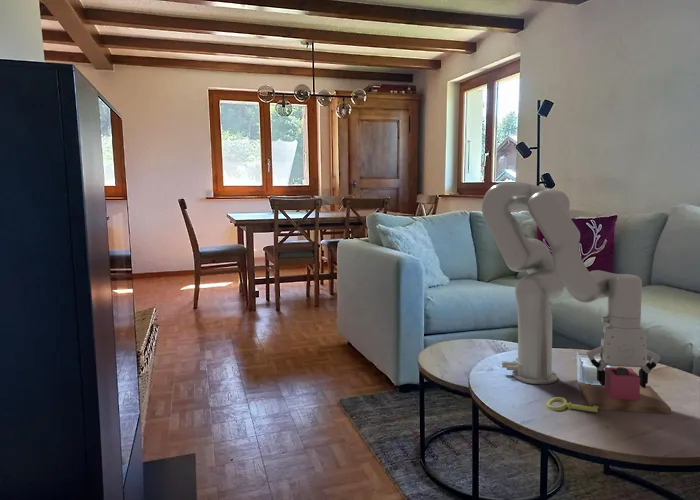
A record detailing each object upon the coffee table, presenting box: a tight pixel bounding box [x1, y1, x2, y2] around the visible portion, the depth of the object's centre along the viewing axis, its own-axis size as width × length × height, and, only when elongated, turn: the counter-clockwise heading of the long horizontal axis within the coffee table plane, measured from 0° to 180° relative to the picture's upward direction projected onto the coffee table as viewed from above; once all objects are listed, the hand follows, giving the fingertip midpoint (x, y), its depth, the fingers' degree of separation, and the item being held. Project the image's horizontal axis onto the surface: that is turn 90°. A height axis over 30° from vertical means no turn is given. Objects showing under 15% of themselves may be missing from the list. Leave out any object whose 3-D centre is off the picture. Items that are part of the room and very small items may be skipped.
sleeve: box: [604, 366, 640, 400], centre depth 126 cm, size 7×7×6 cm
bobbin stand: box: [578, 366, 672, 415], centre depth 126 cm, size 18×14×8 cm
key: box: [545, 396, 599, 413], centre depth 123 cm, size 7×12×2 cm, turn 71°
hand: (621, 384), depth 126 cm, fingers open, 9 cm apart
